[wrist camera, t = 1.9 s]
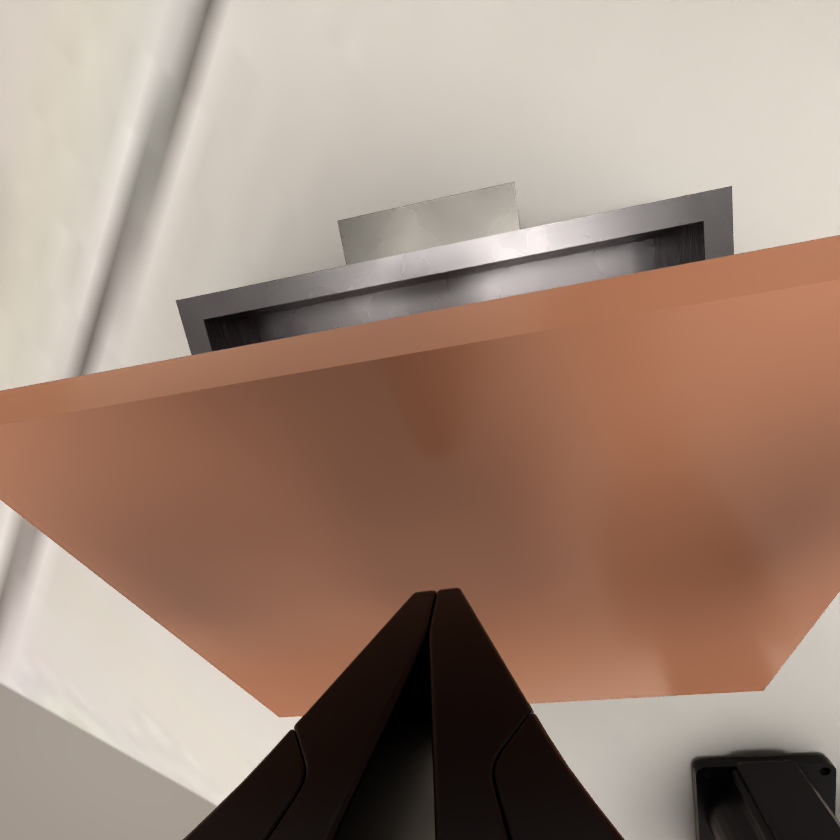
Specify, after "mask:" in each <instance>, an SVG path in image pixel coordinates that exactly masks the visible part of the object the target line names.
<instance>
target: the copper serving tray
mask: <svg viewBox="0 0 840 840" xmlns="http://www.w3.org/2000/svg"><path fill="white" fill-rule="evenodd" d="M0 500H2V501H3V502H4V503H5V504H7V505H8V506H9V507H10V508H12V509H13V510H14V511H16V512H17V513H18V514H19V515H21V516H22V517H23V518H25V519H26V520H27V521H28V522H30V523H31V524H32V525H34V526H35V527H36V528H37V529H39V530H40V531H41V532H43V533H44V534H45V535H46V536H48V537H49V538H50V539H52V540H53V541H54V542H55V543H57V544H58V545H59V546H60V547H62V548H63V549H64V550H66V551H67V552H68V553H69V554H71V555H72V556H73V557H75V558H76V559H77V560H78V561H80V562H81V563H82V564H84V565H85V566H86V567H87V568H89V569H90V570H91V571H93V572H94V573H95V574H96V575H98V576H99V577H100V578H102V579H103V580H104V581H105V582H107V583H108V584H109V585H110V586H112V587H113V588H114V589H116V590H117V591H118V592H119V593H121V594H122V595H123V596H125V597H126V598H127V599H128V600H130V601H131V602H132V603H134V604H135V605H136V606H137V607H139V608H140V609H141V610H143V611H144V612H145V613H146V614H148V615H149V616H150V617H152V618H153V619H154V620H155V621H157V622H158V623H159V624H160V625H162V626H163V627H164V628H166V629H167V630H168V631H169V632H171V633H172V634H173V635H175V636H176V637H177V638H178V639H180V640H181V641H182V642H184V643H185V644H186V645H187V646H189V647H190V648H191V649H193V650H194V651H195V652H196V653H198V654H199V655H200V656H202V657H203V658H204V659H205V660H207V661H208V662H209V663H210V664H212V665H213V666H214V667H216V668H217V669H218V670H219V671H221V672H222V673H223V674H225V675H226V676H227V677H228V678H230V679H231V680H232V681H234V682H235V683H236V684H237V685H239V686H240V687H241V688H243V689H244V690H245V691H246V692H248V693H249V694H250V695H252V696H253V697H254V698H255V699H257V700H258V701H259V702H261V703H262V704H263V705H264V706H266V707H267V708H268V709H269V710H271V711H272V712H273V713H275V714H276V715H277V716H278V717H294V716H304V715H305V713H306V712H307V711H308V710H309V709H310V708H311V707H312V706H313V705H314V703H315V702H316V701H317V700H318V699H319V698H320V697H321V696H322V695H323V693H324V692H325V691H326V690H327V689H328V688H329V687H330V686H331V684H332V683H333V682H334V681H335V680H336V679H337V678H338V677H339V676H340V674H341V673H342V672H343V671H344V670H345V669H346V668H347V667H348V666H349V664H350V663H351V662H352V661H353V660H354V659H355V658H356V657H357V656H358V654H359V653H360V652H361V651H362V650H363V649H364V648H365V647H366V646H367V644H368V643H369V642H370V641H371V640H372V639H373V638H374V637H375V636H376V634H377V633H378V632H379V631H380V630H381V629H382V628H383V627H384V626H385V624H386V623H387V622H388V621H389V620H390V619H391V618H392V617H393V616H394V614H395V613H396V612H397V611H398V610H399V609H400V608H401V607H402V605H403V604H404V603H405V602H406V601H407V600H408V599H409V598H410V597H411V595H412V594H414V593H415V592H421V591H430V590H434V591H436V592H438V591H439V590H441V589H448V588H460V589H461V590H462V592H463V594H464V595H465V597H466V599H467V600H468V602H469V604H470V605H471V607H472V609H473V610H474V612H475V614H476V616H477V617H478V619H479V621H480V622H481V624H482V626H483V627H484V629H485V631H486V632H487V634H488V636H489V637H490V639H491V641H492V642H493V644H494V646H495V647H496V649H497V651H498V652H499V654H500V656H501V658H502V659H503V661H504V663H505V664H506V666H507V668H508V669H509V671H510V673H511V674H512V676H513V678H514V679H515V681H516V683H517V684H518V686H519V688H520V689H521V691H522V693H523V694H524V696H525V698H526V700H527V701H528V703H547V702H565V701H583V700H601V699H619V698H637V697H655V696H673V695H691V694H709V693H727V692H745V691H763V690H764V689H765V688H766V686H767V685H768V684H769V682H770V681H771V680H772V679H773V677H774V676H775V675H776V673H777V672H778V671H779V669H780V668H781V667H782V666H783V664H784V663H785V662H786V660H787V659H788V658H789V656H790V655H791V654H792V652H793V651H794V650H795V649H796V647H797V646H798V645H799V643H800V642H801V641H802V639H803V638H804V637H805V636H806V634H807V633H808V632H809V630H810V629H811V628H812V626H813V625H814V624H815V623H816V621H817V620H818V619H819V617H820V616H821V615H822V613H823V612H824V611H825V609H826V608H827V607H828V606H829V604H830V603H831V602H832V600H833V599H834V598H835V596H836V595H837V594H838V593H839V591H840V235H838V236H832V237H827V238H822V239H816V240H811V241H805V242H800V243H795V244H789V245H784V246H778V247H773V248H768V249H762V250H757V251H751V252H746V253H741V254H735V255H730V256H725V257H719V258H714V259H708V260H703V261H698V262H692V263H687V264H681V265H676V266H671V267H665V268H660V269H654V270H649V271H644V272H638V273H633V274H627V275H622V276H617V277H611V278H606V279H601V280H595V281H590V282H584V283H579V284H574V285H568V286H563V287H557V288H552V289H547V290H541V291H536V292H530V293H525V294H520V295H514V296H509V297H503V298H498V299H493V300H487V301H482V302H477V303H471V304H466V305H460V306H455V307H450V308H444V309H439V310H433V311H428V312H423V313H417V314H412V315H406V316H401V317H396V318H390V319H385V320H379V321H374V322H369V323H363V324H358V325H353V326H347V327H342V328H336V329H331V330H326V331H320V332H315V333H309V334H304V335H299V336H293V337H288V338H282V339H277V340H272V341H266V342H261V343H256V344H250V345H245V346H239V347H234V348H229V349H223V350H218V351H212V352H207V353H202V354H196V355H191V356H185V357H180V358H175V359H169V360H164V361H158V362H153V363H148V364H142V365H137V366H132V367H126V368H121V369H115V370H110V371H105V372H99V373H94V374H88V375H83V376H78V377H72V378H67V379H61V380H56V381H51V382H45V383H40V384H34V385H29V386H24V387H18V388H13V389H8V390H2V391H0Z"/></svg>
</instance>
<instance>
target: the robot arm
mask: <svg viewBox="0 0 840 840" xmlns="http://www.w3.org/2000/svg"><path fill="white" fill-rule="evenodd" d="M294 730H295V731H294ZM294 730H290V731H289V732H288V733H287V734H286V735H285V737H284V738H283V739H282V740H281V741H280V742H279V743H278V744H277V745H276V747H275V748H274V749H273V750H272V751H271V752H270V753H269V754H268V755H267V756H266V757H265V758H264V759H263V761H262V762H261V763H260V764H259V765H258V766H257V767H256V768H255V769H254V770H253V771H252V772H251V773H250V774H249V775H248V776H247V778H246V779H245V780H244V781H243V782H242V783H241V784H240V785H239V786H238V787H237V788H236V789H235V790H234V791H233V792H232V793H231V794H230V795H229V796H228V797H227V798H226V799H224V800H223V801H222V802H221V803H220V804H219V805H218V806H217V807H216V808H215V809H214V810H213V811H212V812H211V813H210V814H209V815H208V816H207V817H206V818H205V819H204V820H203V821H202V822H201V823H200V824H199V825H198V826H197V827H196V828H195V829H194V830H193V831H192V832H191V833H189V834H188V836H186V838H184V839H183V840H624V838H623V837H622V836H621V834H620V833H619V832H618V831H617V829H616V828H615V827H614V826H613V824H612V823H611V822H610V821H609V819H608V818H607V817H606V816H605V814H604V813H603V812H602V810H601V809H600V808H599V807H598V805H597V804H596V803H595V802H594V800H593V799H592V798H591V796H590V795H589V793H588V792H587V791H586V789H585V788H584V787H583V785H582V784H581V783H580V781H579V780H578V779H577V777H576V776H575V775H574V773H573V772H572V771H571V769H570V768H569V767H568V765H567V764H566V762H565V760H564V759H563V757H562V756H561V754H560V753H559V751H558V750H557V748H556V747H555V745H554V743H553V742H552V740H551V739H550V737H549V736H548V734H547V732H546V731H545V729H544V727H543V726H542V724H541V722H540V721H539V719H538V717H537V716H536V715H535V714H534V712H533V710H532V708H531V706H530V705H529V703H528V701H527V700H526V698H525V696H524V694H523V693H522V691H521V689H520V688H519V686H518V684H517V683H516V681H515V679H514V678H513V676H512V674H511V673H510V671H509V669H508V668H507V666H506V664H505V663H504V661H503V659H502V658H501V656H500V654H499V652H498V651H497V649H496V647H495V646H494V644H493V642H492V641H491V639H490V637H489V636H488V634H487V632H486V631H485V629H484V627H483V626H482V624H481V622H480V621H479V619H478V617H477V616H476V614H475V612H474V610H473V609H472V607H471V605H470V604H469V602H468V600H467V599H466V597H465V595H464V594H463V592H462V590H461V589H460V588H448V589H441V590H439V591H438V592H436V591H434V590H430V591H421V592H415V593H414V594H412V595H411V597H410V598H409V599H408V600H407V601H406V602H405V603H404V604H403V605H402V607H401V608H400V609H399V610H398V611H397V612H396V613H395V614H394V616H393V617H392V618H391V619H390V620H389V621H388V622H387V623H386V624H385V626H384V627H383V628H382V629H381V630H380V631H379V632H378V633H377V634H376V636H375V637H374V638H373V639H372V640H371V641H370V642H369V643H368V644H367V646H366V647H365V648H364V649H363V650H362V651H361V652H360V653H359V654H358V656H357V657H356V658H355V659H354V660H353V661H352V662H351V663H350V664H349V666H348V667H347V668H346V669H345V670H344V671H343V672H342V673H341V674H340V676H339V677H338V678H337V679H336V680H335V681H334V682H333V683H332V684H331V686H330V687H329V688H328V689H327V690H326V691H325V692H324V693H323V695H322V696H321V697H320V698H319V699H318V700H317V701H316V702H315V703H314V705H313V706H312V707H311V708H310V709H309V710H308V711H307V712H306V713H305V715H304V716H303V717H302V718H301V719H300V720H299V721H298V722H297V723H296V725H295V726H294ZM692 773H693V790H694V806H695V823H696V840H840V822H839V821H838V820H837V818H836V817H835V799H836V768H835V767H834V765H833V764H832V763H831V762H830V760H829V759H828V758H827V757H824V756H797V757H769V758H741V759H713V760H699V761H696V762H695V763H694V764H693V766H692Z"/></svg>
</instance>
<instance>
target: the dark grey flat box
mask: <svg viewBox="0 0 840 840" xmlns="http://www.w3.org/2000/svg"><path fill="white" fill-rule="evenodd" d="M338 225H339V230H340V235H341V240H342V245H343V249H344V254H345V259H346V264H347V265H346V266H341V267H337V268H332V269H327V270H322V271H317V272H312V273H307V274H303V275H298V276H293V277H288V278H283V279H278V280H274V281H269V282H264V283H259V284H254V285H249V286H244V287H240V288H235V289H230V290H225V291H220V292H215V293H210V294H206V295H201V296H196V297H191V298H186V299H181V300H176V303H177V306H178V309H179V313H180V316H181V320H182V323H183V327H184V330H185V333H186V337H187V340H188V344H189V347H190V351H191V354H192V355H196V354H202V353H207V352H212V351H218V350H223V349H229V348H234V347H239V346H245V345H250V344H256V343H261V342H266V341H272V340H277V339H282V338H288V337H293V336H299V335H304V334H309V333H315V332H320V331H326V330H331V329H336V328H342V327H347V326H353V325H358V324H363V323H369V322H374V321H379V320H385V319H390V318H396V317H401V316H406V315H412V314H417V313H423V312H428V311H433V310H439V309H444V308H450V307H455V306H460V305H466V304H471V303H477V302H482V301H487V300H493V299H498V298H503V297H509V296H514V295H520V294H525V293H530V292H536V291H541V290H547V289H552V288H557V287H563V286H568V285H574V284H579V283H584V282H590V281H595V280H601V279H606V278H611V277H617V276H622V275H627V274H633V273H638V272H644V271H649V270H654V269H660V268H665V267H671V266H676V265H681V264H687V263H692V262H698V261H703V260H708V259H714V258H719V257H725V256H730V255H734V246H733V209H732V186H730V187H725V188H720V189H715V190H710V191H705V192H701V193H696V194H691V195H686V196H681V197H676V198H671V199H667V200H662V201H657V202H652V203H647V204H642V205H637V206H633V207H628V208H623V209H618V210H613V211H608V212H604V213H599V214H594V215H589V216H584V217H579V218H574V219H570V220H565V221H560V222H555V223H550V224H545V225H540V226H536V227H531V228H526V229H521V230H520V226H519V218H518V210H517V202H516V194H515V186H514V182H511V183H506V184H502V185H497V186H493V187H488V188H484V189H479V190H475V191H470V192H466V193H461V194H457V195H452V196H448V197H443V198H439V199H434V200H429V201H425V202H420V203H416V204H411V205H407V206H402V207H398V208H393V209H389V210H384V211H380V212H375V213H371V214H366V215H362V216H357V217H353V218H348V219H344V220H339V221H338Z"/></svg>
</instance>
